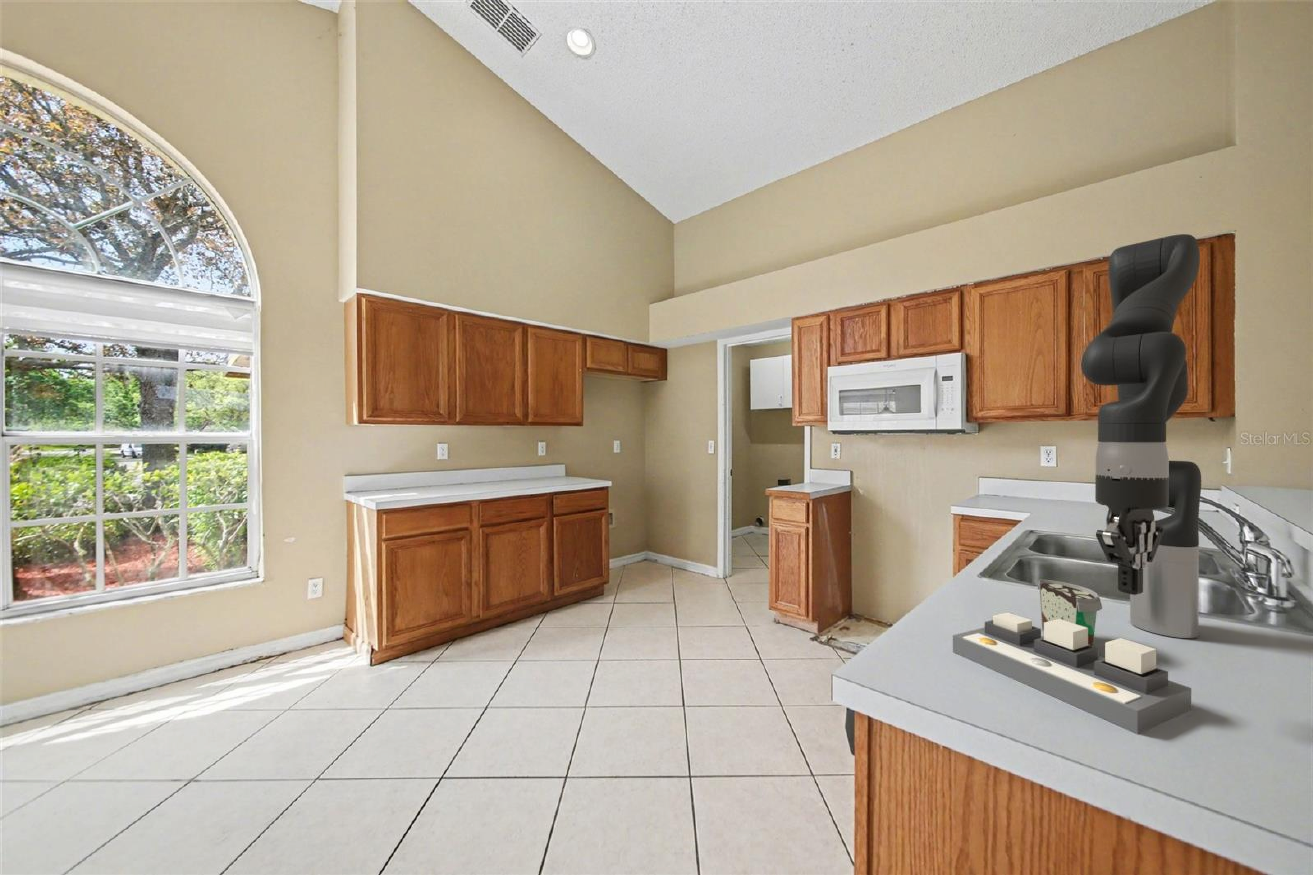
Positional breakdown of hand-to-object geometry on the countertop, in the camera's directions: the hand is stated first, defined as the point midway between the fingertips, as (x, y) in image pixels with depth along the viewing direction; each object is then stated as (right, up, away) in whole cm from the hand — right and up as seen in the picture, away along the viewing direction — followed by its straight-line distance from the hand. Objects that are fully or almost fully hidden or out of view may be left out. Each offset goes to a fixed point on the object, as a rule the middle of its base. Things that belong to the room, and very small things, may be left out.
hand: (1130, 592), depth 69 cm
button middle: (-3, -11, +8) cm, 13 cm away
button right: (0, -11, 0) cm, 11 cm away
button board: (-5, -16, +7) cm, 18 cm away
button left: (-6, -12, +15) cm, 20 cm away
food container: (+9, -16, +19) cm, 26 cm away
